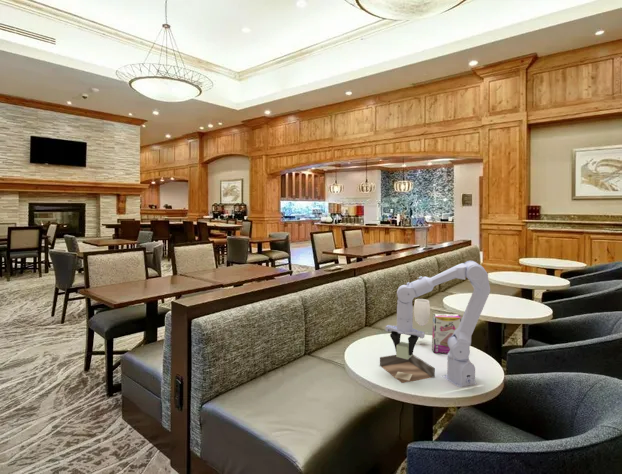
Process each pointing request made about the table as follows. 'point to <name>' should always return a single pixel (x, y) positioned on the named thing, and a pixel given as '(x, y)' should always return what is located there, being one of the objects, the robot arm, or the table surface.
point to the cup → (421, 311)
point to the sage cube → (402, 350)
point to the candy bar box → (443, 331)
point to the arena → (407, 368)
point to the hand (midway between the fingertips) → (404, 353)
